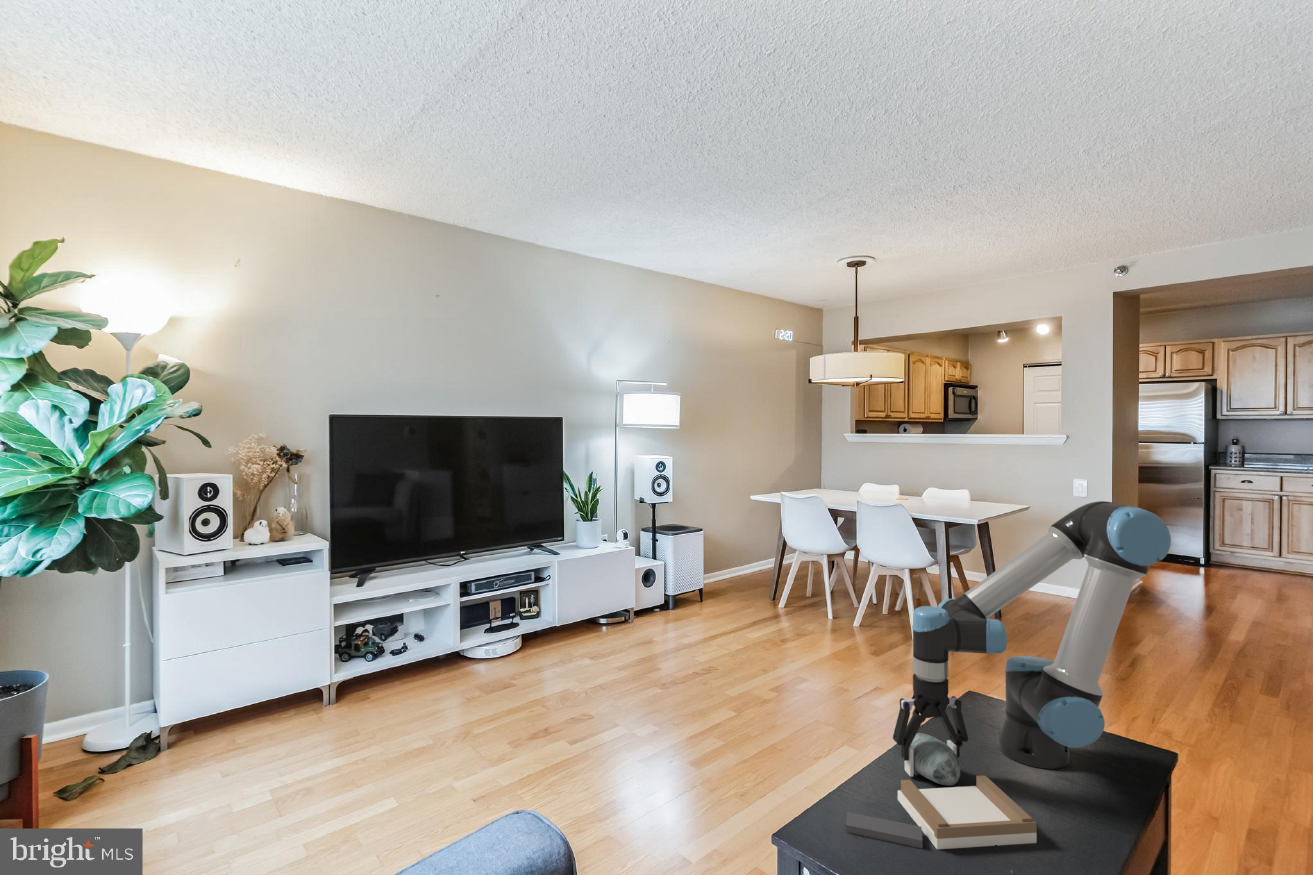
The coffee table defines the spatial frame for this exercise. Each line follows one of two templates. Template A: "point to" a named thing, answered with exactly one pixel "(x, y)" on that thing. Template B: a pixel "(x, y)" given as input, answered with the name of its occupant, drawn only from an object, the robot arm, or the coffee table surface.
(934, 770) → the grey streaked oval piece
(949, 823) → the shelf bay
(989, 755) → the coffee table surface
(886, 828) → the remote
